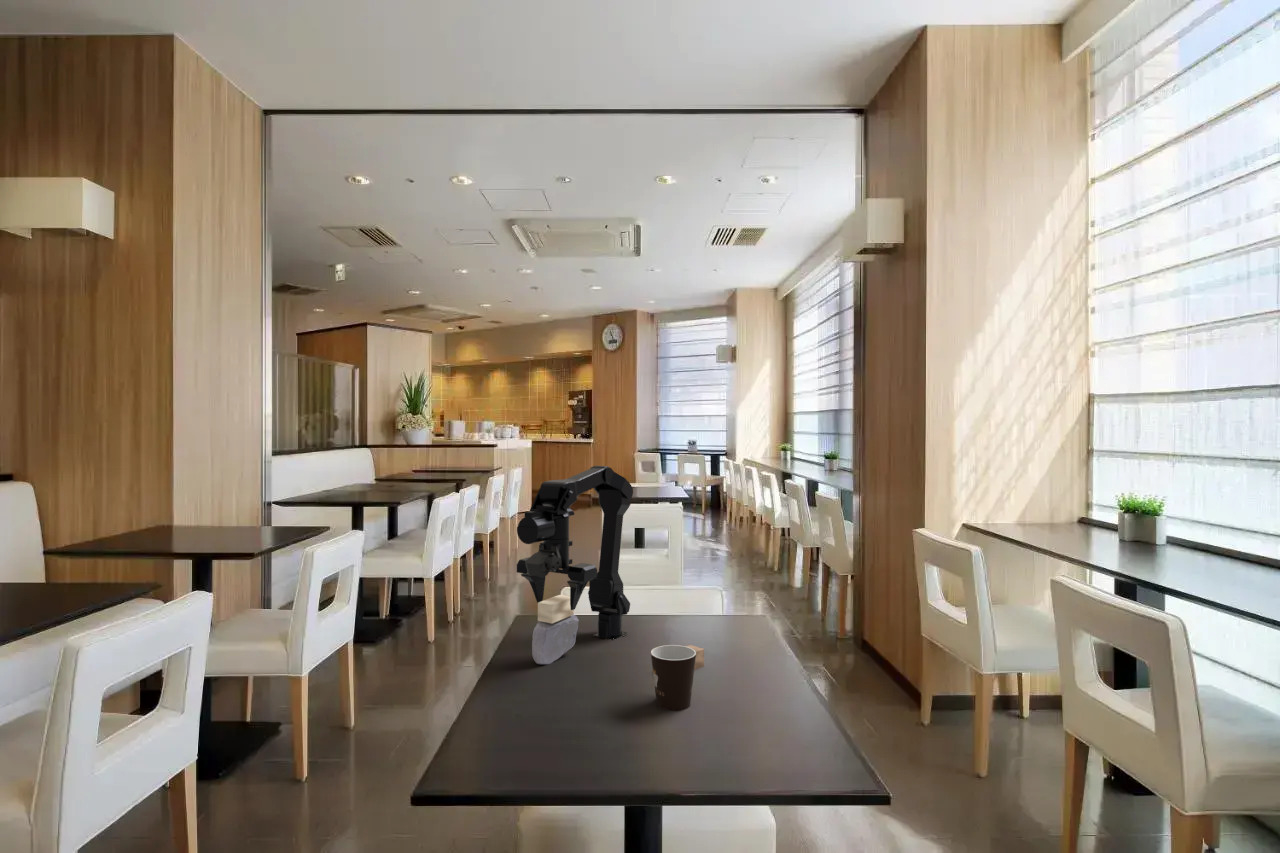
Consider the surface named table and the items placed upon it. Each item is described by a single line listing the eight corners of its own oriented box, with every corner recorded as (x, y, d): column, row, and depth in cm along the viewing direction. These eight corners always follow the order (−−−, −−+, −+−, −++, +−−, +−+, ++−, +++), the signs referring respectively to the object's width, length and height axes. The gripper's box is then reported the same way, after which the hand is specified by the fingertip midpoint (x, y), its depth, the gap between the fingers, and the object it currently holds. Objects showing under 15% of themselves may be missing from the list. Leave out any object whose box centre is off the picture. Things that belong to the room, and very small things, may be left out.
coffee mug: (693, 716, 126) (693, 661, 126) (646, 712, 128) (646, 658, 128) (700, 691, 137) (700, 641, 137) (657, 688, 139) (657, 639, 139)
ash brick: (559, 612, 159) (559, 594, 159) (573, 614, 157) (573, 596, 157) (537, 620, 152) (537, 602, 152) (552, 623, 150) (552, 605, 150)
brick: (690, 662, 155) (690, 644, 154) (704, 667, 152) (704, 648, 152) (666, 672, 149) (666, 653, 149) (680, 676, 146) (680, 658, 146)
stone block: (544, 671, 148) (544, 625, 148) (529, 667, 151) (529, 621, 151) (581, 656, 158) (581, 613, 158) (566, 652, 161) (566, 609, 160)
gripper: (500, 539, 152) (500, 609, 152) (569, 546, 143) (568, 622, 143) (532, 532, 162) (532, 598, 162) (598, 539, 152) (598, 609, 152)
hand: (556, 606), depth 154 cm, fingers open, 9 cm apart
